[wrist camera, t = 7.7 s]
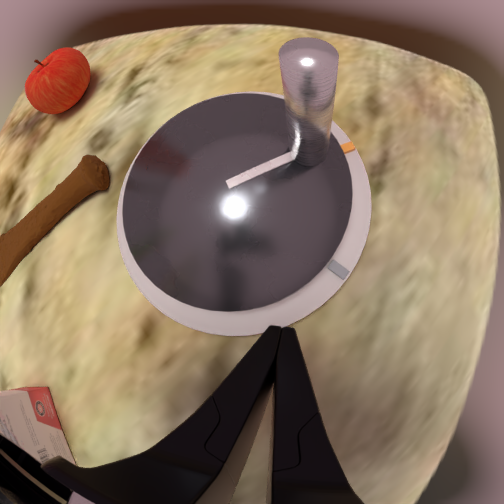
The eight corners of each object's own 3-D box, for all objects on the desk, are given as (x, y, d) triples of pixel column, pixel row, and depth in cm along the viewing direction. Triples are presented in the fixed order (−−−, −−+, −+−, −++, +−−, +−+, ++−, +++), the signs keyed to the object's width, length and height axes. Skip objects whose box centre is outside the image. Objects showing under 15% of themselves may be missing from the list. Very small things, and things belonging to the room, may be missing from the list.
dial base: (411, 268, 17) (418, 265, 16) (163, 368, 19) (155, 371, 17) (298, 73, 22) (297, 63, 20) (108, 158, 23) (100, 152, 22)
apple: (55, 136, 25) (10, 101, 18) (47, 104, 27) (11, 72, 20) (108, 88, 25) (69, 43, 17) (93, 63, 27) (61, 25, 19)
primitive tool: (1, 289, 23) (-22, 285, 20) (-4, 247, 25) (-25, 241, 21) (118, 191, 23) (94, 174, 19) (106, 147, 24) (85, 129, 21)
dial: (347, 107, 19) (361, 6, 10) (342, 323, 16) (388, 338, 7) (157, 109, 21) (103, 34, 12) (115, 293, 19) (11, 277, 10)
